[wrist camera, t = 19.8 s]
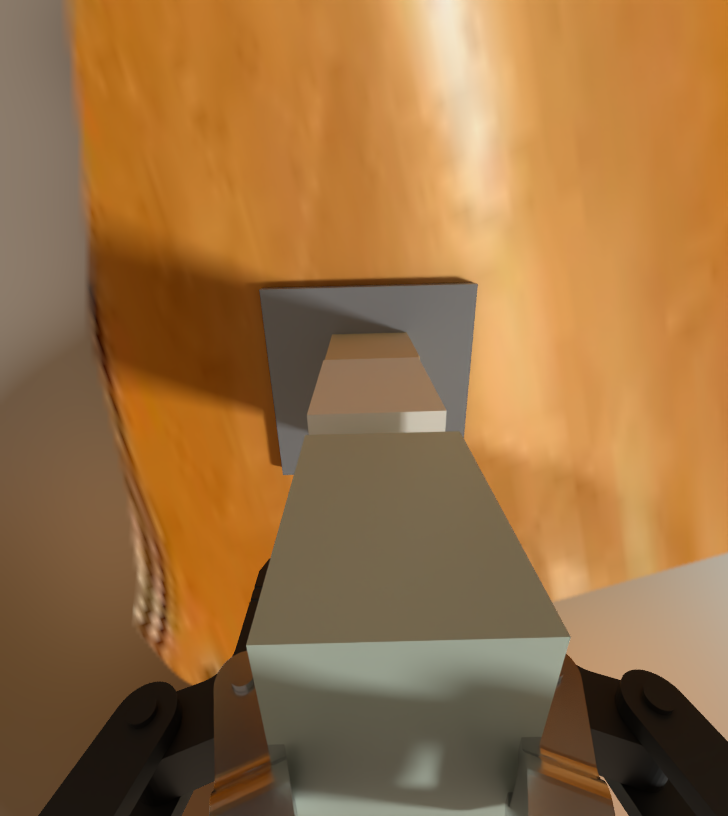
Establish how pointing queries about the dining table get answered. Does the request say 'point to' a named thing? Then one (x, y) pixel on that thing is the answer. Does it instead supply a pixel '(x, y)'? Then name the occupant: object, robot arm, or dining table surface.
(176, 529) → the dining table surface
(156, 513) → the dining table surface
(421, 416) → the off white brick
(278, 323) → the board
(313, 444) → the sage brick
